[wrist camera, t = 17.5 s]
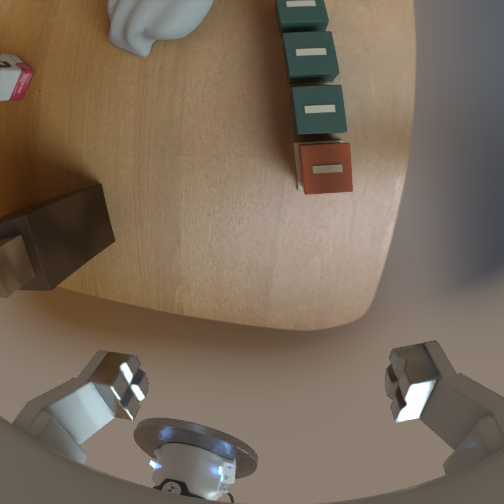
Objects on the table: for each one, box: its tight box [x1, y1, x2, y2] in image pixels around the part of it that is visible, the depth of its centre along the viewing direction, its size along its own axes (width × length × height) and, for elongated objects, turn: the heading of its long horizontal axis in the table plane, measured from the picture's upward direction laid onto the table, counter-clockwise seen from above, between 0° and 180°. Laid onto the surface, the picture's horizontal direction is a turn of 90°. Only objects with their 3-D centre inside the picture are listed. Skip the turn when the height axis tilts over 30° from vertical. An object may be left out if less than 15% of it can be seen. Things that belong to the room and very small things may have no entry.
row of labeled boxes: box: [275, 0, 347, 191], centre depth 20 cm, size 19×5×4 cm, turn 8°
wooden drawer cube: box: [298, 142, 353, 195], centre depth 23 cm, size 4×4×4 cm
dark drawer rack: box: [0, 184, 115, 298], centre depth 24 cm, size 7×22×16 cm, turn 98°
